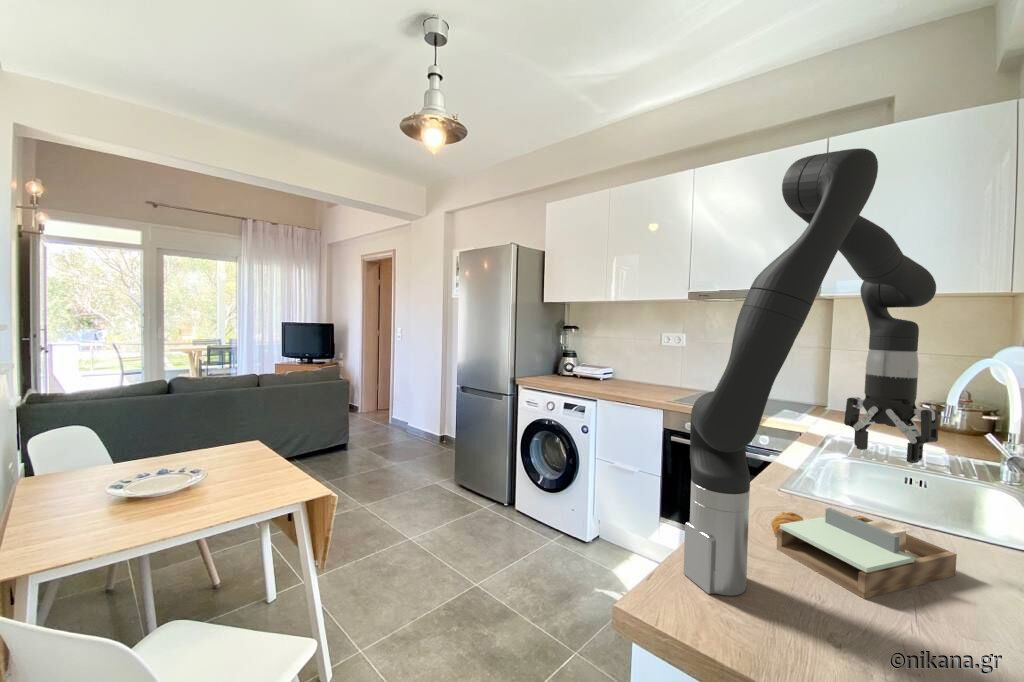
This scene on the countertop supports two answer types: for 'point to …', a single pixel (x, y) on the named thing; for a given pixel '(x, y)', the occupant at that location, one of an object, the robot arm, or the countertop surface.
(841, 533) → the lid
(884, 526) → the block
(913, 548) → the wooden box
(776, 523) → the pastry
